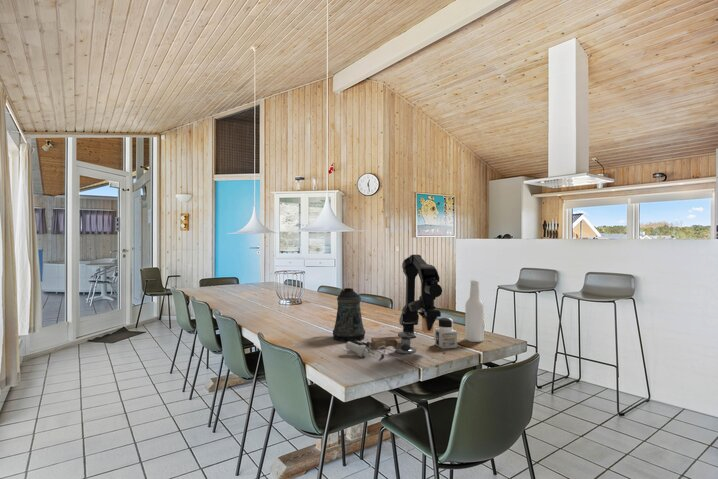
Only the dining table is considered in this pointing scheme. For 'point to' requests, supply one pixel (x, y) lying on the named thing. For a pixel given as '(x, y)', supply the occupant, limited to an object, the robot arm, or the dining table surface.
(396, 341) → the notched board
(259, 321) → the dining table surface
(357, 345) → the clip-on lamp
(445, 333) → the container
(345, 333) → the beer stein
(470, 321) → the alcohol
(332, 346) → the dining table surface
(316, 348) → the dining table surface
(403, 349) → the bobbin
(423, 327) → the block
